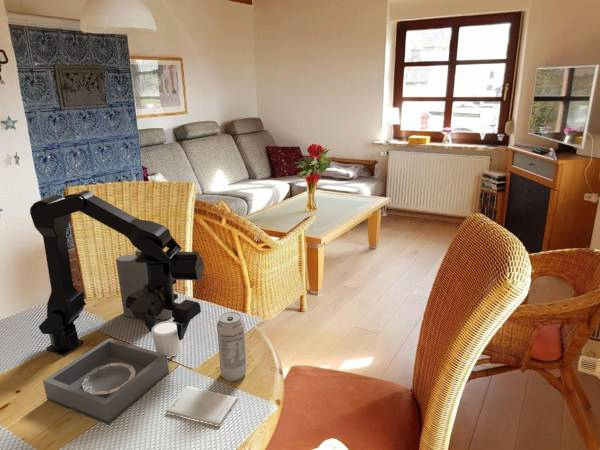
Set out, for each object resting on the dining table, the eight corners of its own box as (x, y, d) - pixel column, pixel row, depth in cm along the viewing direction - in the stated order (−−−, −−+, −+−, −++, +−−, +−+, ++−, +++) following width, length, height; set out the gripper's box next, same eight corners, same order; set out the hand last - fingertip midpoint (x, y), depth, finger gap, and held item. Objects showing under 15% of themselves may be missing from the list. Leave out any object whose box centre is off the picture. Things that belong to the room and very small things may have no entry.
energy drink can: (246, 365, 110) (243, 309, 105) (247, 381, 104) (244, 323, 99) (221, 367, 109) (216, 311, 104) (220, 383, 103) (215, 325, 99)
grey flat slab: (165, 409, 94) (219, 422, 90) (186, 384, 102) (237, 396, 98) (166, 416, 95) (220, 429, 91) (187, 391, 102) (238, 402, 98)
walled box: (47, 400, 99) (42, 380, 97) (111, 355, 114) (108, 337, 113) (109, 425, 92) (105, 404, 90) (169, 373, 107) (166, 355, 105)
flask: (177, 311, 135) (170, 247, 129) (168, 321, 130) (161, 255, 124) (131, 307, 138) (122, 245, 132) (120, 316, 132) (110, 252, 126)
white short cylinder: (188, 347, 117) (185, 323, 115) (170, 362, 111) (167, 337, 109) (167, 341, 120) (164, 318, 118) (148, 356, 114) (145, 331, 112)
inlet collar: (71, 391, 100) (70, 385, 100) (110, 363, 110) (110, 358, 109) (109, 405, 96) (108, 399, 95) (146, 375, 105) (145, 370, 105)
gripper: (104, 284, 106) (113, 343, 111) (168, 300, 98) (175, 362, 103) (138, 267, 115) (146, 321, 120) (199, 279, 108) (204, 337, 113)
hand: (166, 335), depth 114 cm, fingers open, 9 cm apart
